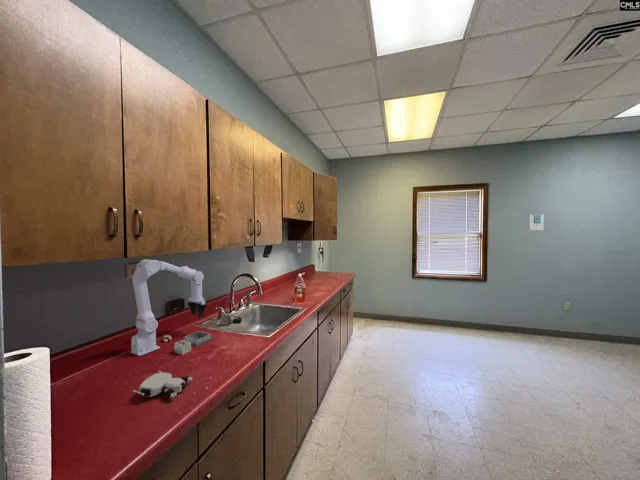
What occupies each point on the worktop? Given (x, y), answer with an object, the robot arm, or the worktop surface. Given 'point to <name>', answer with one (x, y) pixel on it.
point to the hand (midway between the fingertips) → (197, 315)
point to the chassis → (198, 338)
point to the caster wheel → (229, 319)
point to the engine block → (182, 347)
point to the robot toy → (162, 385)
